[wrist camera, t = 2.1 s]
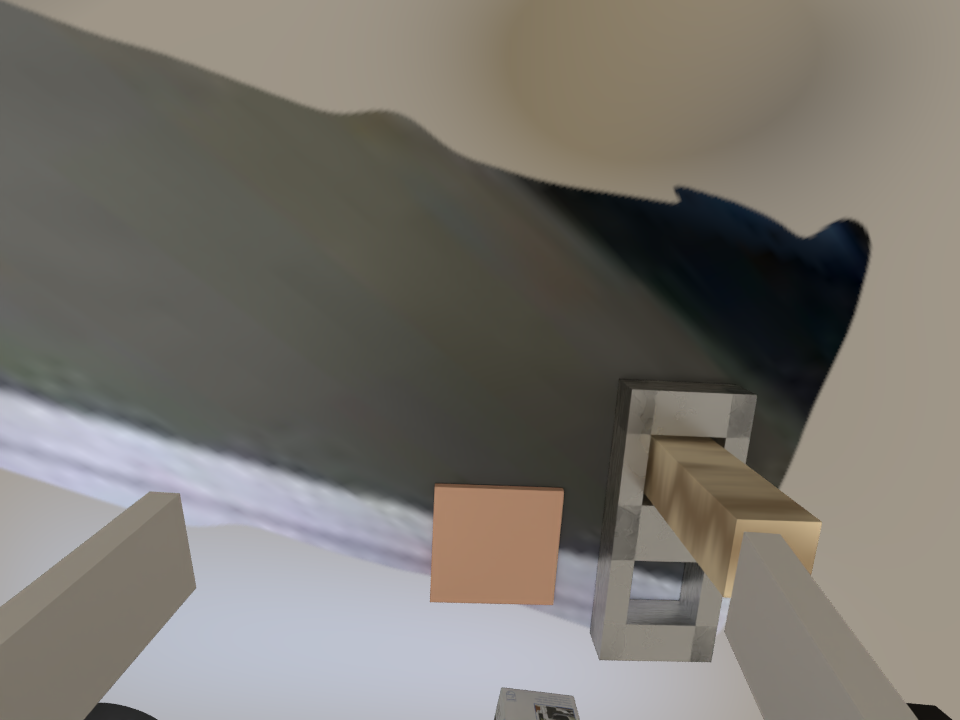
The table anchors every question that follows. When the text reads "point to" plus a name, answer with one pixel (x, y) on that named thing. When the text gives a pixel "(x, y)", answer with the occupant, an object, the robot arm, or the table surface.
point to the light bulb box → (534, 706)
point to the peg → (721, 505)
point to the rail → (659, 522)
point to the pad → (495, 544)
